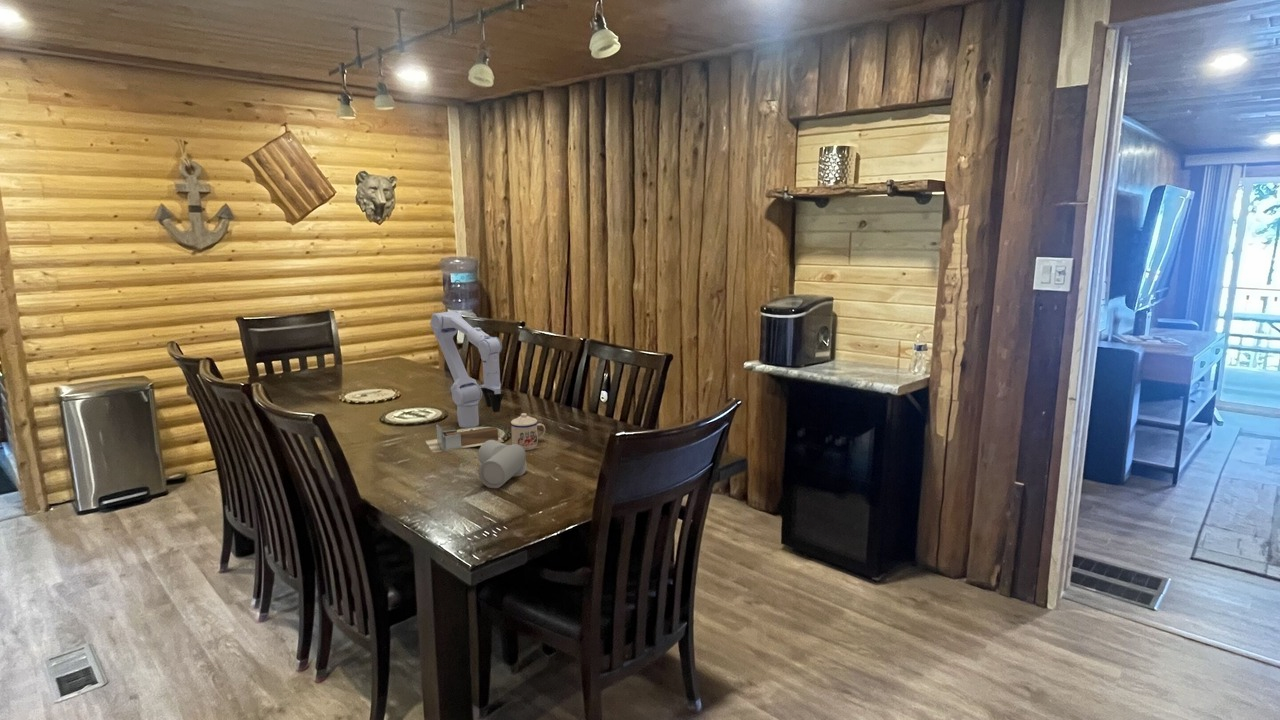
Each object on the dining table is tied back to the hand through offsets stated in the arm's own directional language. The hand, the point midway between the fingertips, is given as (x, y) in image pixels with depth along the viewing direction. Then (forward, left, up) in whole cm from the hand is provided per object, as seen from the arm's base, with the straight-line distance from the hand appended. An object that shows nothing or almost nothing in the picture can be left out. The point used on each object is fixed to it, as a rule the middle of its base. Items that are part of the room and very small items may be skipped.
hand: (493, 409), depth 248 cm
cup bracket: (+8, -18, -8) cm, 21 cm away
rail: (+9, -10, -8) cm, 16 cm away
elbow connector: (+41, -10, -10) cm, 43 cm away
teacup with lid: (+18, +7, -10) cm, 22 cm away
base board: (+6, -12, -9) cm, 16 cm away
